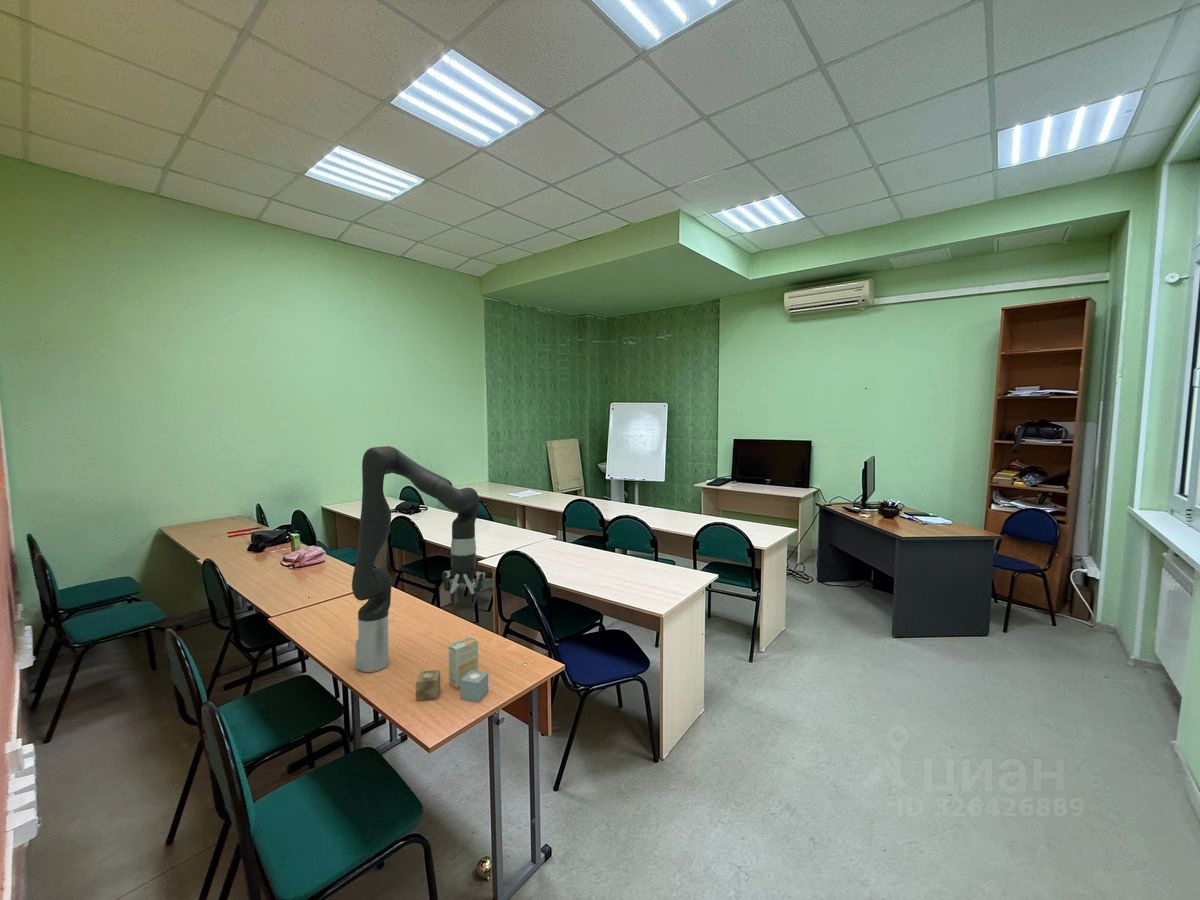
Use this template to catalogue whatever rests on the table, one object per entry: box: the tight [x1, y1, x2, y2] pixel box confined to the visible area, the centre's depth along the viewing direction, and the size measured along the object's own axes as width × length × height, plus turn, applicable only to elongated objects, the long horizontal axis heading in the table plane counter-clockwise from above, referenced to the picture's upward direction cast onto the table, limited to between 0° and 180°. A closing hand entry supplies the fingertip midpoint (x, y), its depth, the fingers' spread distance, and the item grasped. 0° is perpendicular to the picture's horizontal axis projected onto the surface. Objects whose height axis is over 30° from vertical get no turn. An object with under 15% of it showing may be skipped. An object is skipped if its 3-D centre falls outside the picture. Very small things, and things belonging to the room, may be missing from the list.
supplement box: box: [447, 635, 479, 690], centre depth 149 cm, size 8×5×13 cm, turn 141°
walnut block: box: [415, 669, 441, 702], centre depth 142 cm, size 6×6×6 cm
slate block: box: [459, 670, 489, 703], centre depth 142 cm, size 6×6×6 cm
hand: (463, 603), depth 149 cm, fingers open, 5 cm apart
